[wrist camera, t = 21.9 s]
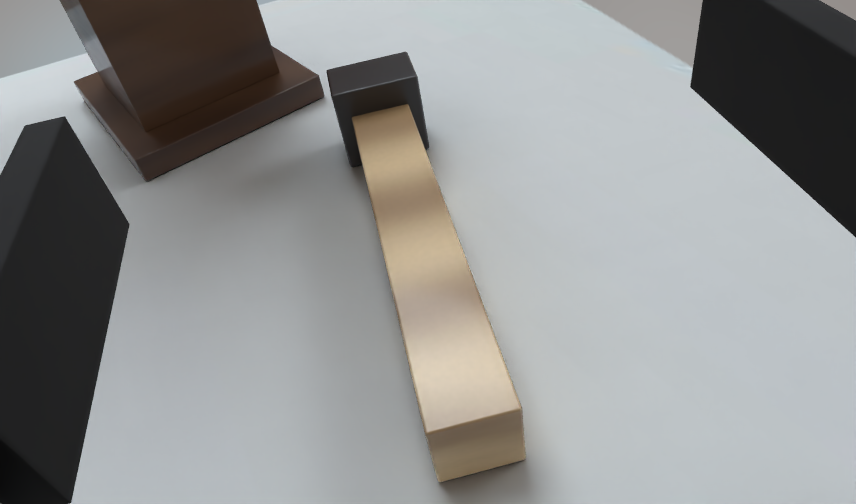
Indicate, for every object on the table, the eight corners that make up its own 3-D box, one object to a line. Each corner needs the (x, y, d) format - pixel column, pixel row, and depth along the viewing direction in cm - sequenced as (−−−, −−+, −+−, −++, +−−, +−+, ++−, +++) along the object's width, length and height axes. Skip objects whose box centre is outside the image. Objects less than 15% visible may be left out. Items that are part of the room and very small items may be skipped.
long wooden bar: (547, 454, 22) (544, 375, 19) (417, 489, 21) (393, 414, 18) (419, 121, 38) (406, 50, 35) (344, 139, 37) (325, 69, 34)
